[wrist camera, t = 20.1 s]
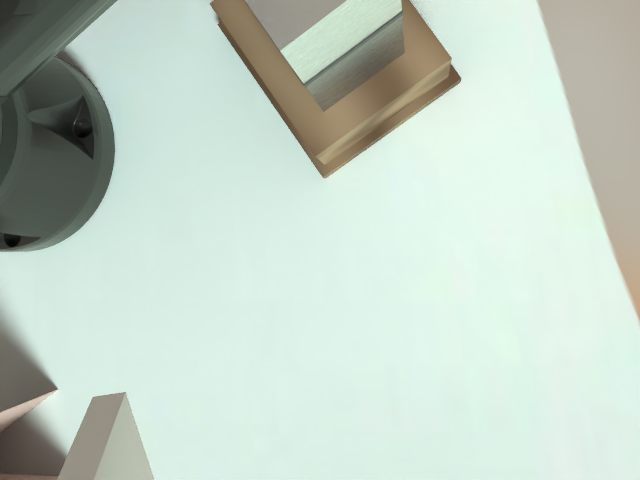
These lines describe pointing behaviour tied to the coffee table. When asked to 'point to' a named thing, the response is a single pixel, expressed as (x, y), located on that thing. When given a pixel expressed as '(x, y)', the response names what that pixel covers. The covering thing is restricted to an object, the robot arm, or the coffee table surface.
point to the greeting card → (10, 416)
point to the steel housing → (333, 41)
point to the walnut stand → (358, 106)
